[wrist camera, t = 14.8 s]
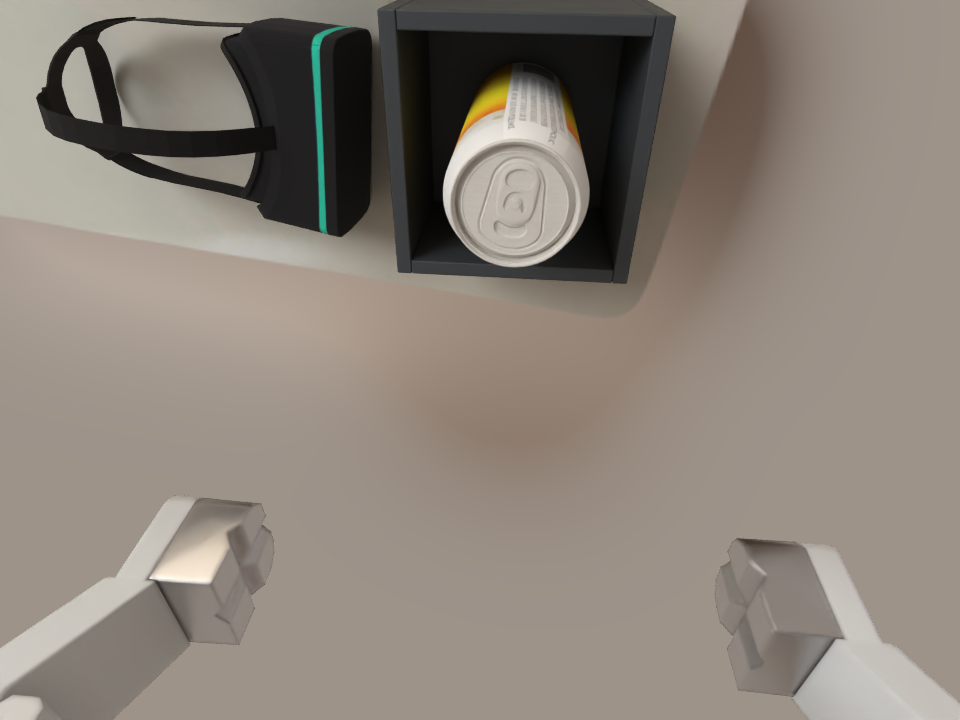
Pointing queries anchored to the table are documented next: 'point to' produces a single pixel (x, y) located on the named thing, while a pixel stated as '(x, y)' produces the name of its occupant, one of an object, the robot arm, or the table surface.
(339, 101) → the virtual reality headset
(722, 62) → the table surface
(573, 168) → the beer can
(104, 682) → the robot arm
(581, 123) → the trash bin
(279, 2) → the table surface
